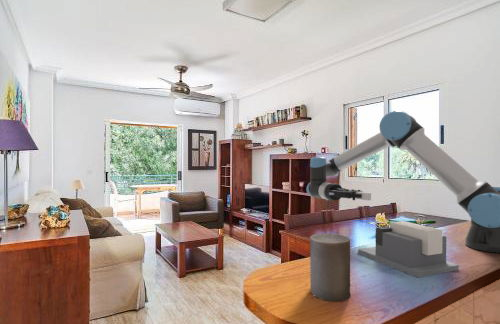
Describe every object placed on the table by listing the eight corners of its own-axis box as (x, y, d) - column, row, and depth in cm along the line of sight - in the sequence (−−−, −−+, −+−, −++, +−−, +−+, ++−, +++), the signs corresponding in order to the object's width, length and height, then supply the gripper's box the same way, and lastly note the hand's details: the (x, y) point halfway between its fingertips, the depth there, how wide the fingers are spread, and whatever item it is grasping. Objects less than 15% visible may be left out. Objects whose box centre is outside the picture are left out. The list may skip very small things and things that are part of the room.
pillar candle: (357, 292, 76) (356, 232, 76) (339, 306, 69) (339, 239, 69) (321, 282, 82) (321, 226, 82) (302, 293, 75) (302, 232, 75)
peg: (389, 243, 102) (389, 222, 102) (403, 241, 104) (403, 221, 104) (427, 255, 89) (428, 231, 89) (442, 253, 91) (442, 229, 91)
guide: (358, 253, 108) (358, 223, 108) (394, 248, 114) (394, 220, 114) (417, 277, 86) (417, 240, 86) (458, 269, 92) (458, 235, 92)
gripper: (342, 199, 139) (383, 205, 117) (318, 200, 134) (355, 207, 112) (342, 182, 139) (382, 186, 117) (318, 183, 134) (355, 187, 112)
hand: (369, 196), depth 114 cm, fingers closed
